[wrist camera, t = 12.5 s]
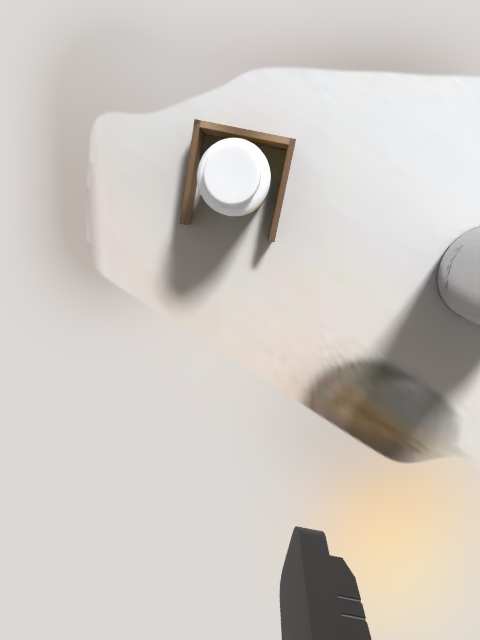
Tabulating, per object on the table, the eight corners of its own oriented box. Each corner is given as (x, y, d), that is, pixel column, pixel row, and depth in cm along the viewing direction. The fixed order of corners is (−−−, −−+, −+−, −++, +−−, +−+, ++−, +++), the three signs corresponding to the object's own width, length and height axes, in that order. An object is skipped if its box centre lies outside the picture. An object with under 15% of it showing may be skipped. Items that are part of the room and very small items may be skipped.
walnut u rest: (292, 145, 36) (296, 139, 33) (273, 240, 38) (274, 242, 35) (199, 126, 35) (194, 119, 33) (185, 222, 38) (179, 223, 35)
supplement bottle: (270, 213, 37) (274, 213, 27) (212, 218, 38) (195, 220, 28) (266, 150, 36) (269, 126, 26) (206, 156, 36) (186, 134, 26)
